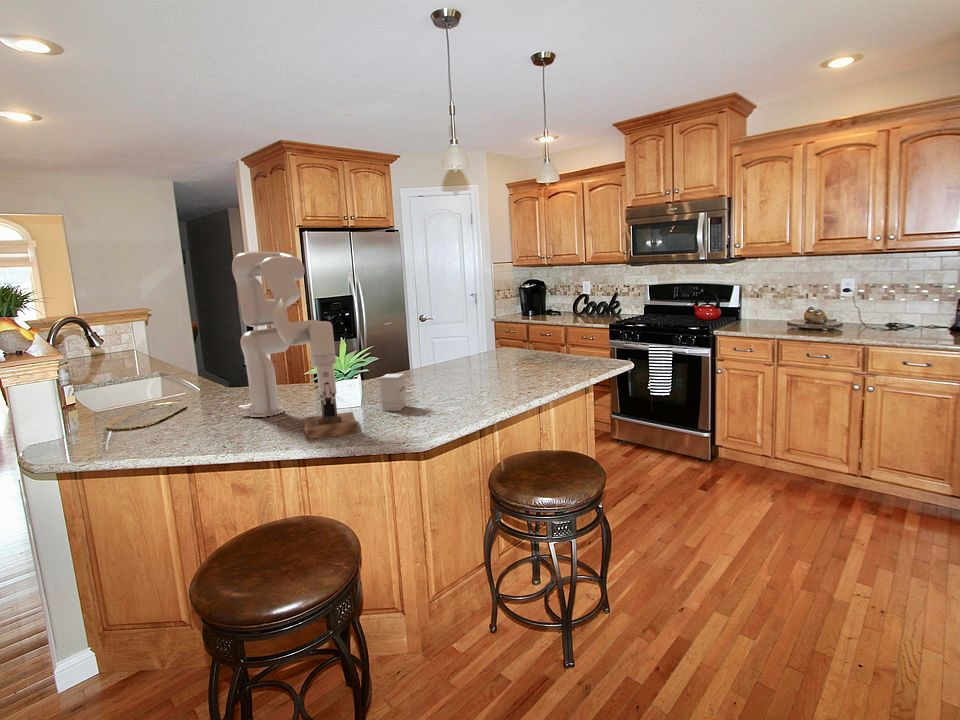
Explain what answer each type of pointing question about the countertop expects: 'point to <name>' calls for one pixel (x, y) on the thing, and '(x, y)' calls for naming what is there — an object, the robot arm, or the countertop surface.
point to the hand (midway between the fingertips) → (329, 413)
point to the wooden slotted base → (330, 426)
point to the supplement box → (393, 392)
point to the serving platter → (138, 425)
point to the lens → (323, 407)
